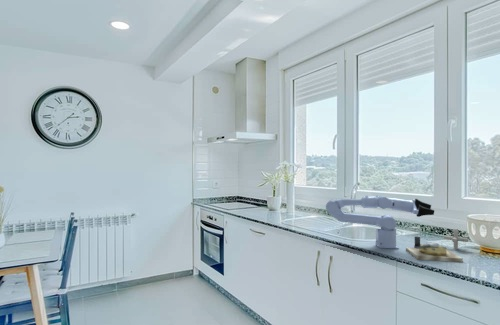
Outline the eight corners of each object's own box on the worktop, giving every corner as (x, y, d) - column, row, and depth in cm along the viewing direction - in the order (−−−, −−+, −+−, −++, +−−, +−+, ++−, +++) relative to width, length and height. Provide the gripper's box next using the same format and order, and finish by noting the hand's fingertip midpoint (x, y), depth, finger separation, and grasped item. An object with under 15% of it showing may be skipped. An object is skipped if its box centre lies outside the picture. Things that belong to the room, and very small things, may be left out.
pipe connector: (445, 245, 163) (445, 226, 164) (468, 248, 157) (468, 228, 157) (442, 249, 156) (442, 229, 156) (466, 252, 149) (466, 231, 150)
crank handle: (430, 248, 151) (430, 232, 151) (452, 254, 140) (452, 237, 140) (405, 251, 145) (405, 234, 145) (426, 257, 135) (426, 239, 135)
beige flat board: (417, 259, 137) (417, 255, 137) (405, 250, 153) (405, 246, 153) (462, 262, 134) (462, 258, 134) (446, 252, 150) (446, 248, 150)
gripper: (405, 202, 151) (437, 207, 147) (401, 193, 164) (430, 197, 160) (402, 216, 153) (434, 221, 148) (399, 206, 166) (428, 210, 162)
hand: (432, 209), depth 154 cm, fingers open, 7 cm apart
